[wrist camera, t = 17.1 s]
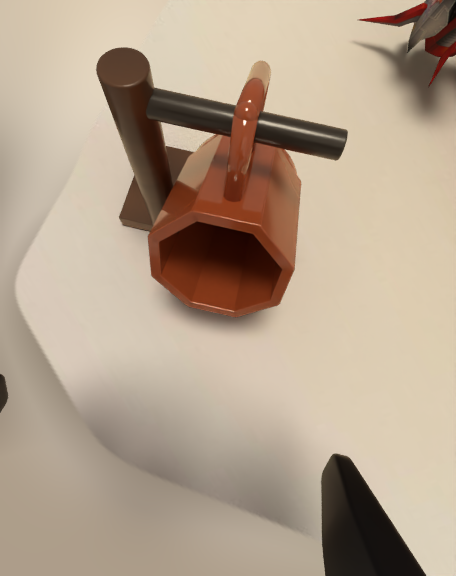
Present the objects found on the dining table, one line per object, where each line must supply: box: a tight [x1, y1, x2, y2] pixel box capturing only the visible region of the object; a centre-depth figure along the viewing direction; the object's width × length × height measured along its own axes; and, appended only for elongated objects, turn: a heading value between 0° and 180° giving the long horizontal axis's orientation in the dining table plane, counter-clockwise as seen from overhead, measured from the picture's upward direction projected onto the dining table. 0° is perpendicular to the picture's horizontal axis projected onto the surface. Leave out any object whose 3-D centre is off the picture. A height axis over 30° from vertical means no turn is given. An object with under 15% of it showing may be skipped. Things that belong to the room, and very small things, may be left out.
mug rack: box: [96, 48, 348, 231], centre depth 19 cm, size 8×12×14 cm, turn 77°
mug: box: [148, 61, 301, 317], centre depth 17 cm, size 11×7×8 cm
